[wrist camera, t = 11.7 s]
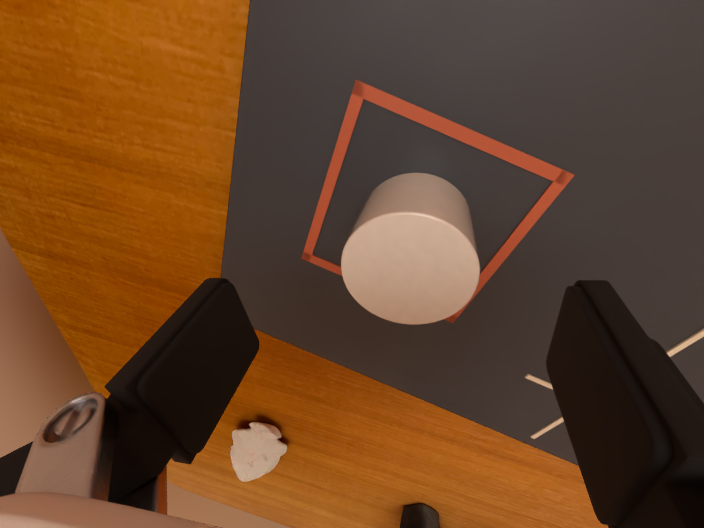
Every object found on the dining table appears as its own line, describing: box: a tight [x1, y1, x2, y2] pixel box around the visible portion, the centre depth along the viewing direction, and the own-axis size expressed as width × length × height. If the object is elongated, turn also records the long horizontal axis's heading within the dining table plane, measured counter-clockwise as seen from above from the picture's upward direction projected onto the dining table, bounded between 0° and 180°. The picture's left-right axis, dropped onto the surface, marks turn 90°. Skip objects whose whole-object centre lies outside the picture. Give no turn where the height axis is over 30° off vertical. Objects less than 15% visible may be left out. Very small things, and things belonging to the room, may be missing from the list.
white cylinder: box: [341, 173, 480, 325], centre depth 13 cm, size 5×5×4 cm
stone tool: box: [230, 422, 287, 482], centre depth 34 cm, size 6×2×15 cm
